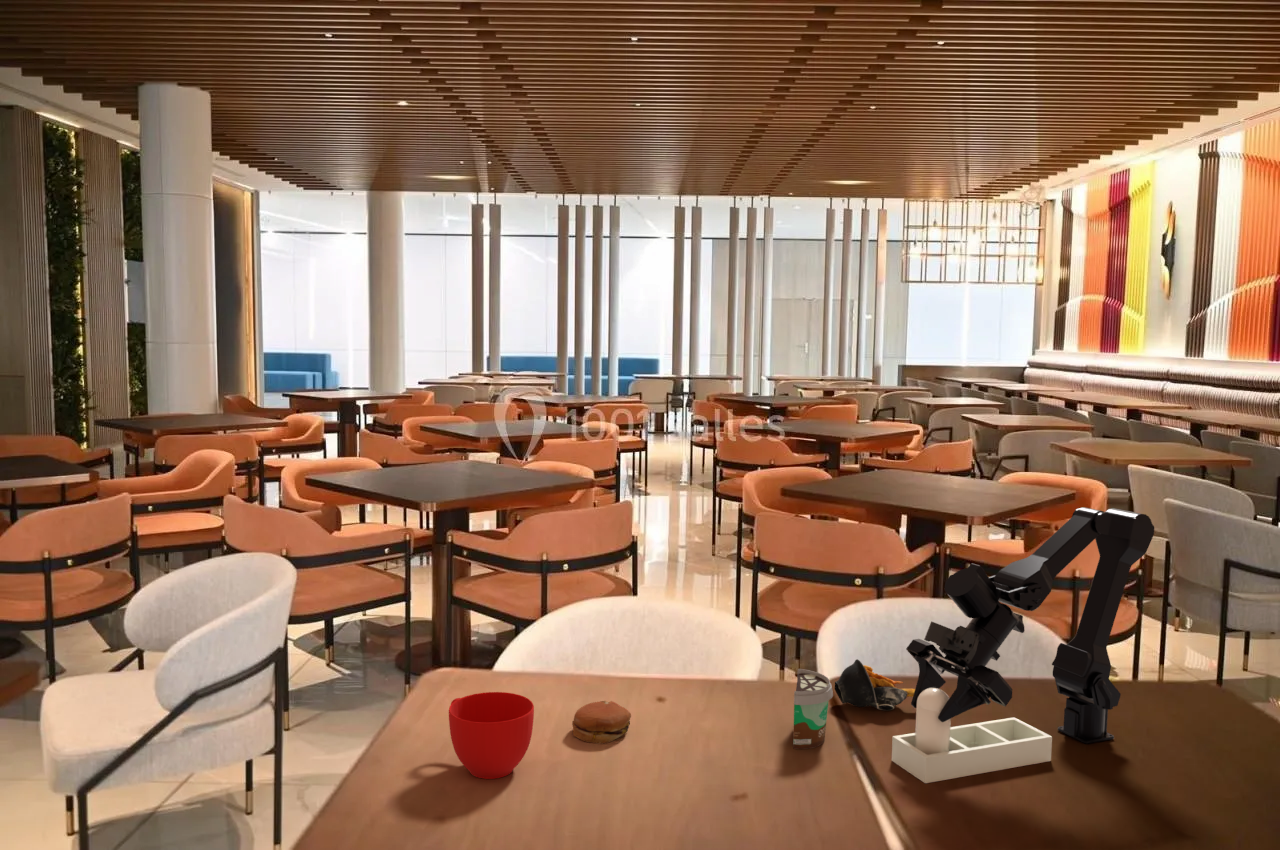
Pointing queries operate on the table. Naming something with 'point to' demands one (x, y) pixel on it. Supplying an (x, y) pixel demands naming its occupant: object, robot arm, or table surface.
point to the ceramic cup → (491, 732)
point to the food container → (810, 709)
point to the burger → (601, 722)
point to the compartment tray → (975, 750)
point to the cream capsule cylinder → (931, 722)
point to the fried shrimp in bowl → (869, 688)
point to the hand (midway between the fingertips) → (926, 713)
